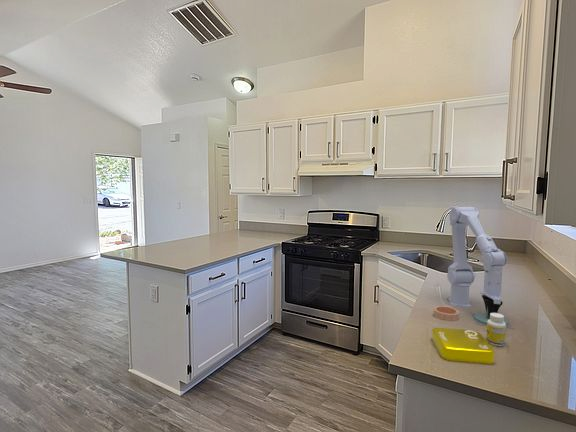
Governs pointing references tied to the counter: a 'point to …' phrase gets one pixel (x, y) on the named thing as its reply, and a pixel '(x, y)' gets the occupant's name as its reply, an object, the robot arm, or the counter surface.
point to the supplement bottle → (496, 329)
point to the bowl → (446, 313)
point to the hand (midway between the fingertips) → (490, 315)
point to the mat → (486, 324)
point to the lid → (485, 317)
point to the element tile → (462, 345)
